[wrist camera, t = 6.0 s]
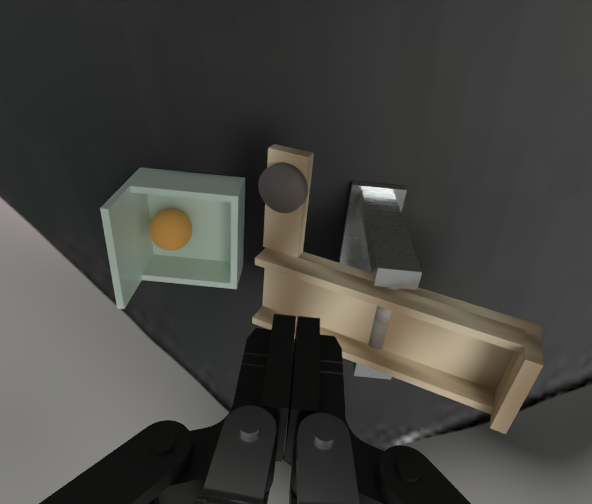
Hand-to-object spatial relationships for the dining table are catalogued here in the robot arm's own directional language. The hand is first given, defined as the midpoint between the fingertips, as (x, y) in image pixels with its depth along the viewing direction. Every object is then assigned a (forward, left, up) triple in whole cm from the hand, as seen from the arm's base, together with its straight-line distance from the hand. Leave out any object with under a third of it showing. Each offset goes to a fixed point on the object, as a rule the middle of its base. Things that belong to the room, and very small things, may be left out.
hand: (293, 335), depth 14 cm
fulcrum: (+7, +6, -20) cm, 22 cm away
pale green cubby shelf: (+7, -8, -20) cm, 23 cm away
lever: (+4, +6, -11) cm, 13 cm away
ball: (+7, -10, -18) cm, 22 cm away
